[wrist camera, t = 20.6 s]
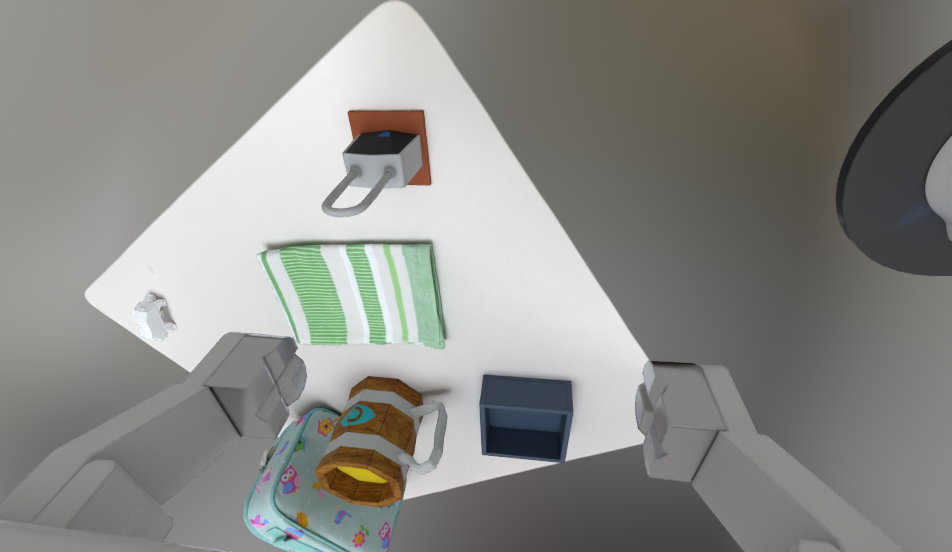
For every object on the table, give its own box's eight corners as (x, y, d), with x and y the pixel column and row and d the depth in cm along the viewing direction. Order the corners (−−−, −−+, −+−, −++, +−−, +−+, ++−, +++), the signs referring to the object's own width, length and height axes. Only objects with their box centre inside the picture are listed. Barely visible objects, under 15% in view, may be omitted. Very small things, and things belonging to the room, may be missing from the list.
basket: (571, 381, 64) (573, 412, 60) (563, 432, 72) (564, 463, 68) (483, 374, 66) (479, 404, 62) (485, 425, 74) (481, 455, 70)
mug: (376, 428, 79) (346, 510, 67) (336, 383, 72) (295, 465, 60) (470, 413, 73) (456, 501, 61) (436, 362, 66) (412, 450, 54)
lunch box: (282, 409, 79) (211, 530, 62) (314, 391, 74) (246, 517, 57) (383, 476, 90) (346, 596, 73) (417, 464, 85) (385, 589, 68)
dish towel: (448, 342, 63) (444, 355, 61) (303, 336, 66) (295, 349, 64) (432, 240, 52) (427, 252, 50) (261, 240, 56) (249, 251, 53)
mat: (423, 110, 43) (422, 112, 42) (431, 183, 48) (430, 185, 47) (349, 110, 44) (347, 112, 43) (364, 182, 49) (362, 184, 48)
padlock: (365, 167, 47) (304, 235, 35) (358, 129, 44) (290, 189, 32) (423, 168, 46) (381, 239, 34) (419, 130, 44) (373, 191, 32)
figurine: (164, 295, 64) (141, 314, 61) (179, 331, 69) (159, 351, 66) (149, 292, 64) (125, 311, 61) (165, 328, 69) (144, 349, 66)
